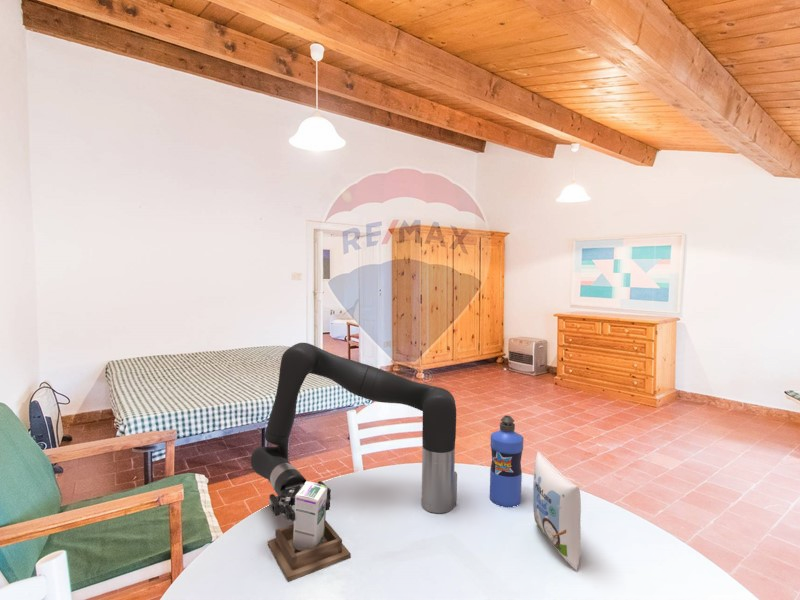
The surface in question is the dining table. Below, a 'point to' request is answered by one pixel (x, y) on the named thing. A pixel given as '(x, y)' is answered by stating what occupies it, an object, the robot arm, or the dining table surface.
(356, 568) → the dining table surface
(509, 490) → the water bottle
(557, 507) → the pouch
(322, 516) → the syrup box
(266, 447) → the robot arm
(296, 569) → the holder stand
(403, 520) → the dining table surface
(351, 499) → the dining table surface
